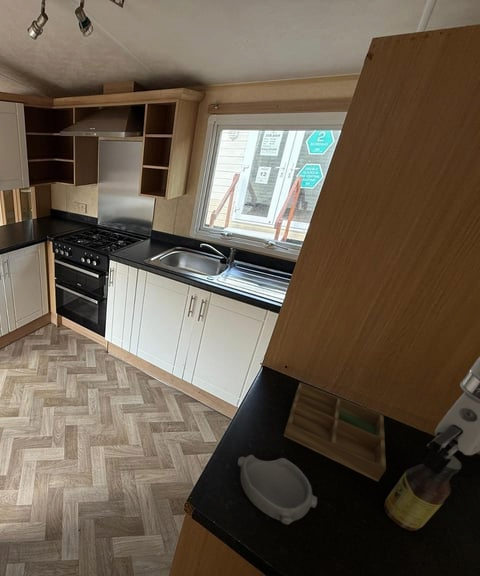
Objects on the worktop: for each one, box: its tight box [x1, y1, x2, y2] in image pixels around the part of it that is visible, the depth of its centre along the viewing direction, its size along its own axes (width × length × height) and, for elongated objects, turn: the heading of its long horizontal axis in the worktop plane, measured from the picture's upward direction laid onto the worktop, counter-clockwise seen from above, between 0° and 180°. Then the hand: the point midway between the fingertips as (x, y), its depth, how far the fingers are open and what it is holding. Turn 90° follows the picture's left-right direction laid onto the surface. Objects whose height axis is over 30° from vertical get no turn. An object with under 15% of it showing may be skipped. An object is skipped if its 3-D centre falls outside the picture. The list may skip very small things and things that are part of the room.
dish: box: [237, 454, 318, 526], centre depth 70 cm, size 14×14×5 cm
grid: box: [283, 381, 387, 482], centre depth 85 cm, size 20×20×5 cm
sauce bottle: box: [383, 454, 462, 532], centre depth 63 cm, size 7×6×20 cm
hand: (443, 458), depth 58 cm, fingers open, 9 cm apart
